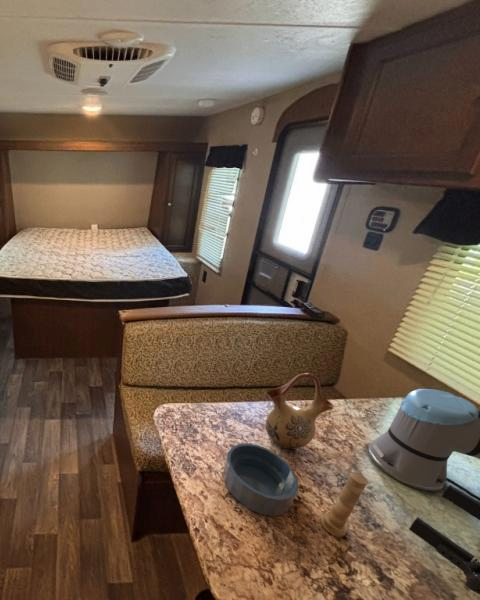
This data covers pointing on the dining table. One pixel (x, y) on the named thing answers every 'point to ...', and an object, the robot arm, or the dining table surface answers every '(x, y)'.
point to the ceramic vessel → (294, 416)
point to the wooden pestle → (344, 505)
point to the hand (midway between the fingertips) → (429, 505)
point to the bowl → (260, 479)
